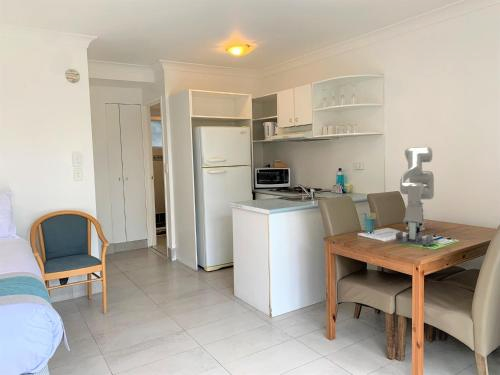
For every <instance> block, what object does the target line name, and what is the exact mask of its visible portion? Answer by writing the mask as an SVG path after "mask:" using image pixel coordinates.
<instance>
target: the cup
mask: <svg viewBox="0 0 500 375" xmlns="http://www.w3.org/2000/svg"><path fill="white" fill-rule="evenodd" d="M360 215H361V216H362V215H364V217H363V220H364V230H365V233H366V232H373V233H374V230H375V229H374V227H375V221H376V219H377V213H376V212H371V213H370V215H369V216H367V214H366V212H362V213H361V214H360Z"/></svg>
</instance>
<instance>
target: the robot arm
mask: <svg viewBox="0 0 500 375" xmlns="http://www.w3.org/2000/svg"><path fill="white" fill-rule="evenodd" d="M404 156H405V158H406V160H407V170H405V171H404V172H403V174H402V175H401V177H400V181H399V191H400V193H401V194H403V195H407V205H406V207H405V214H404V217H403V220H402V222H403V223H405V224H406V225H407V227H405V229H406V230H407V231H409V223H410V222H417V228H416V233H417V234H418V233H421V232H422V231H425V230H426V228H425V227H424V224H426V223H427V221H426V220H425V218H424V216H425V215H424V206H423V205H424V202H422V200H433V198H434V196H435V195H434V194H435V192H434V191H435V183H434V182H435V178H434V173H433V171H431V170H423V163H430V162H432V160H433V150H432V148H431V147H429V146H428V147H427V146H426V147H425V146H424V147H423V146H422V147H419V146H418V147H417V146H416V147H408V148H406V149H404ZM408 179H409V182H406V181H407V180H408Z"/></svg>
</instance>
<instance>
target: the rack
mask: <svg viewBox="0 0 500 375" xmlns="http://www.w3.org/2000/svg"><path fill="white" fill-rule="evenodd" d="M403 233H404V232H403V230H400V231H399V232H396V233H395V239H394V243H395V244H405V245H412V244H413V246H414V245H415V246H421V245H425V246H424V247H430V246H431V245H432V244H433V243H434V242H435V239H434V238H433V235H434V234H433V233H432V232H431V233H429V234H428V235H426V236H425V237H426V238H423V232H419V234H418V235H416V239H409V232H408V233H406V234H405V236H404V234H403ZM433 241H434V242H433ZM432 242H433V243H432ZM431 243H432V244H431ZM430 244H431V245H430ZM429 245H430V246H429Z"/></svg>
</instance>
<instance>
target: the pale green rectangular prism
mask: <svg viewBox="0 0 500 375" xmlns="http://www.w3.org/2000/svg"><path fill="white" fill-rule="evenodd" d="M416 228H417V222H410V223H409V230H408V233H409V239H416V235H418V234H419V233H420V232H419V233H418V234H417V233H416Z"/></svg>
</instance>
